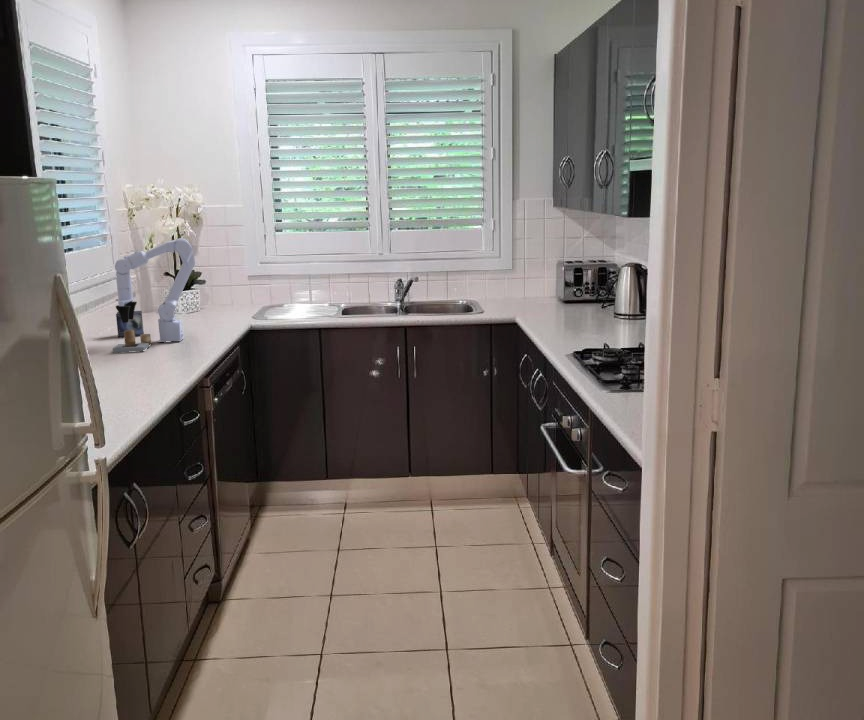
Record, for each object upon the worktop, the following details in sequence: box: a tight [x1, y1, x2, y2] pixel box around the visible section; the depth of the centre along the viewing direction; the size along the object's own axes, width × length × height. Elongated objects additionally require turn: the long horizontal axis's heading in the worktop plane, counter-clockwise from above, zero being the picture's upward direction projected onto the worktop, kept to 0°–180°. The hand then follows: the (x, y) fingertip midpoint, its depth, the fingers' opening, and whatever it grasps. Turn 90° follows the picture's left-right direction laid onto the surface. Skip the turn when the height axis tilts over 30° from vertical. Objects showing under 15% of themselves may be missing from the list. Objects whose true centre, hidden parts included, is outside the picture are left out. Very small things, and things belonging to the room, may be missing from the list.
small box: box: [115, 310, 145, 338], centre depth 360 cm, size 11×6×10 cm, turn 105°
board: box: [112, 342, 150, 354], centre depth 329 cm, size 12×8×2 cm, turn 95°
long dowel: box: [123, 330, 137, 347], centre depth 329 cm, size 4×4×8 cm
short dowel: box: [139, 333, 152, 345], centre depth 339 cm, size 4×4×4 cm
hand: (128, 320), depth 340 cm, fingers open, 7 cm apart
